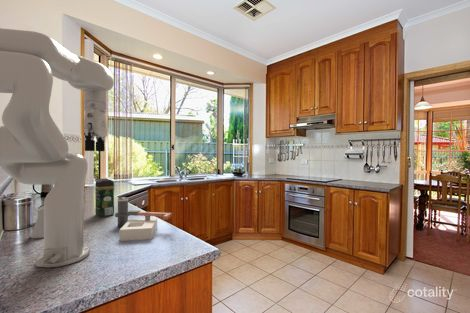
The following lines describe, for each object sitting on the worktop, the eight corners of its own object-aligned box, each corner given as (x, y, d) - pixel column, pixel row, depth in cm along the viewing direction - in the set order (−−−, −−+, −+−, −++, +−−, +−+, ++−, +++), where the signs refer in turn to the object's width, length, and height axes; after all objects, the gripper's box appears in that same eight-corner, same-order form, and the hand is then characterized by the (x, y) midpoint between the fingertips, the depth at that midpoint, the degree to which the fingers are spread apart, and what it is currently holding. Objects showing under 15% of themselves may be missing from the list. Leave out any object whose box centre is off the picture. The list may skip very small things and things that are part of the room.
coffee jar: (93, 214, 117) (93, 178, 117) (110, 211, 122) (110, 177, 122) (98, 218, 110) (98, 179, 109) (115, 215, 115) (116, 178, 115)
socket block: (151, 238, 84) (151, 223, 84) (119, 240, 82) (119, 225, 81) (157, 226, 97) (157, 213, 97) (129, 228, 95) (129, 214, 95)
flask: (40, 240, 82) (40, 212, 82) (24, 238, 83) (24, 211, 83) (59, 233, 89) (59, 207, 89) (44, 231, 90) (44, 206, 90)
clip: (123, 217, 91) (123, 213, 91) (131, 213, 96) (131, 210, 96) (166, 219, 89) (166, 215, 89) (172, 215, 94) (172, 211, 94)
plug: (128, 227, 97) (128, 199, 96) (112, 228, 95) (113, 199, 95) (131, 223, 102) (132, 196, 102) (117, 223, 101) (117, 197, 101)
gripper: (97, 103, 81) (96, 150, 81) (113, 112, 98) (112, 151, 98) (73, 102, 80) (73, 150, 80) (94, 111, 97) (93, 151, 97)
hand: (95, 151), depth 89 cm, fingers open, 9 cm apart
